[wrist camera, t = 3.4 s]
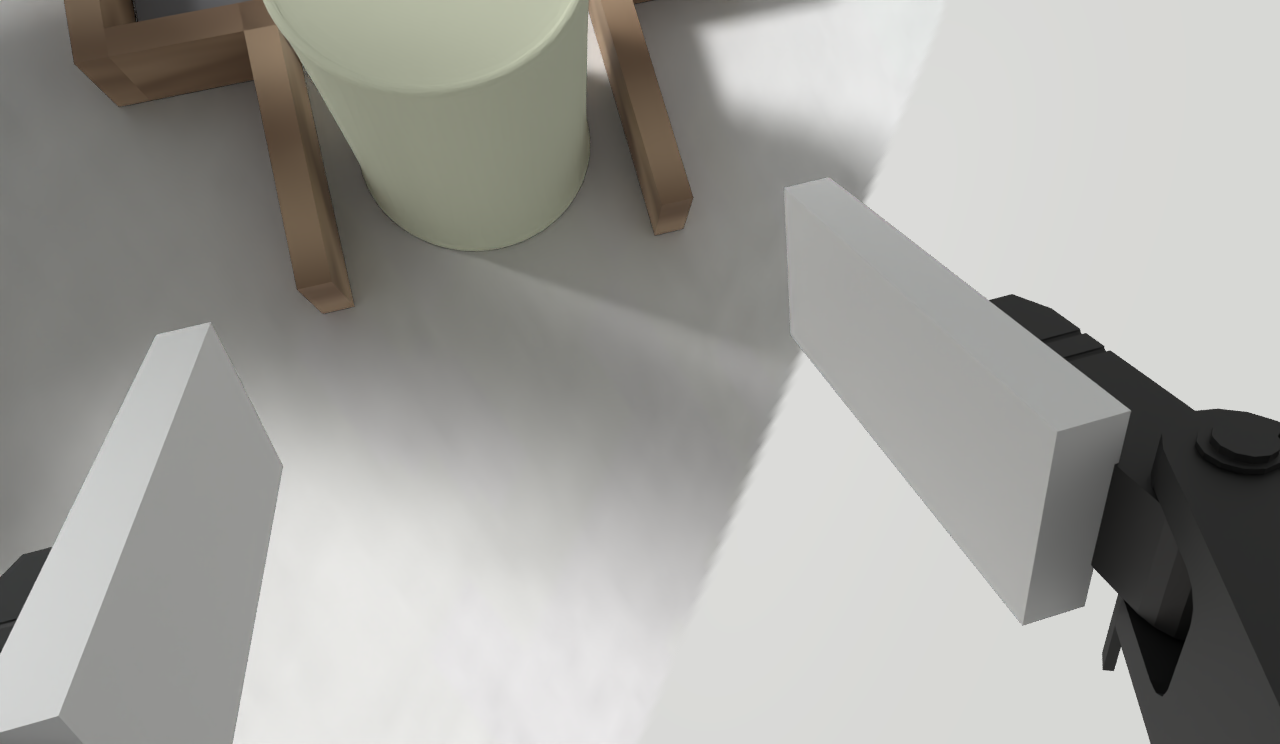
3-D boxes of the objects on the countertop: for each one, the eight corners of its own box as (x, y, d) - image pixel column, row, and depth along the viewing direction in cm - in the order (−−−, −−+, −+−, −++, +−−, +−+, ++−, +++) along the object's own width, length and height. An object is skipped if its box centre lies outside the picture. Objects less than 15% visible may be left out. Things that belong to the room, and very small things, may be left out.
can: (635, 129, 34) (664, -88, 23) (492, 298, 33) (443, 154, 21) (461, 2, 35) (402, -273, 23) (310, 159, 33) (164, -54, 22)
